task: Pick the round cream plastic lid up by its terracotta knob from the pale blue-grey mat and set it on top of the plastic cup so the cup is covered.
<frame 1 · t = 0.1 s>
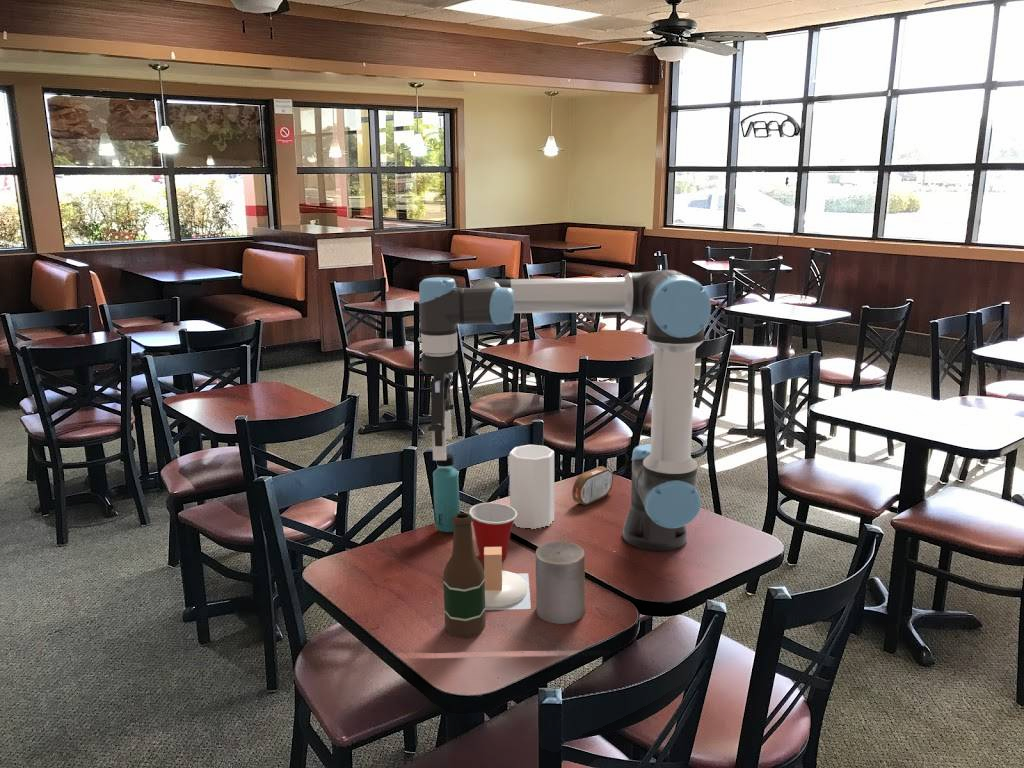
hand: (442, 449, 176), 28 cm above the table, tool pointing down, fingers open, 13 cm apart
mat: (493, 594, 171), on the table
tin: (593, 500, 220), on the table
beer bottle: (465, 632, 157), on the table
plastic cup: (494, 560, 186), on the table
beverage bottle: (447, 533, 201), on the table
pillar candle: (560, 615, 163), on the table
cup: (532, 521, 207), on the table
lid: (493, 591, 171), point 1 cm above the table, touching mat
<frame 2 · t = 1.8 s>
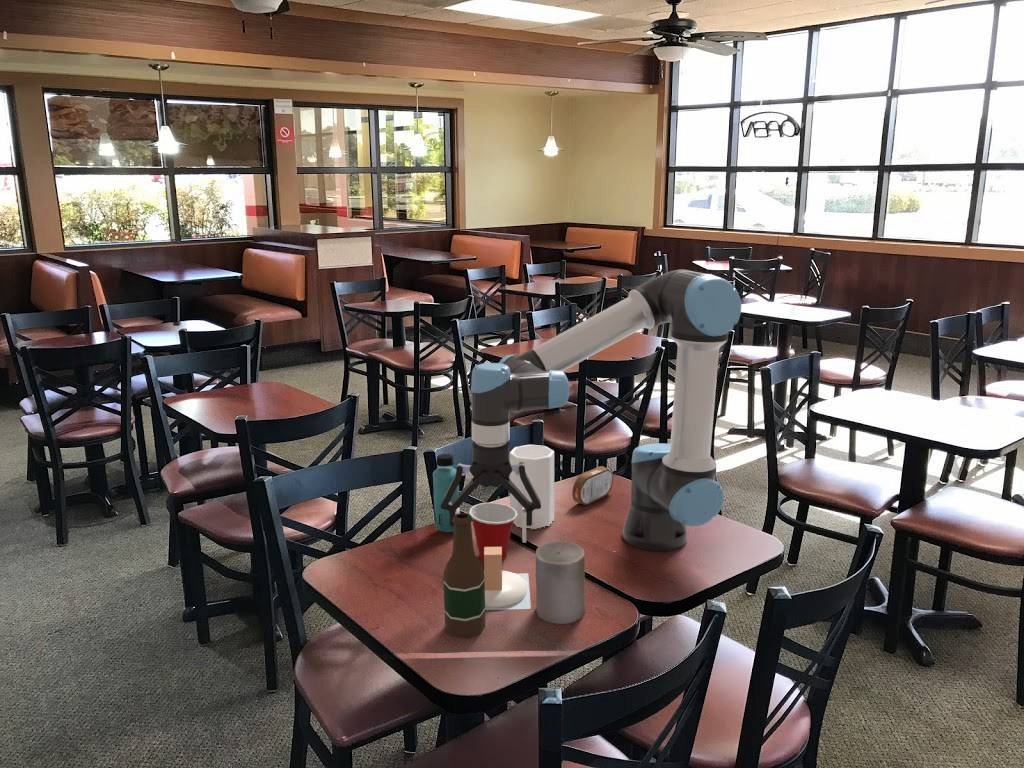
hand: (491, 540, 168), 12 cm above the table, tool pointing down, fingers open, 13 cm apart
nothing on the table moved.
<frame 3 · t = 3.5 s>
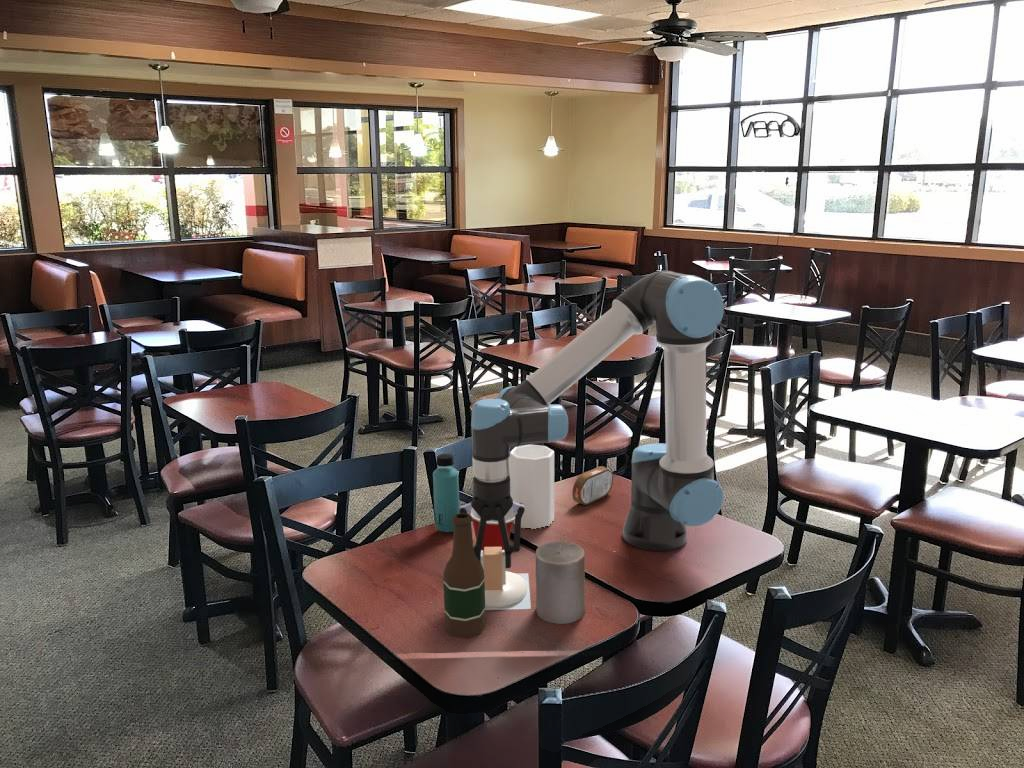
hand: (493, 581, 170), 3 cm above the table, tool pointing down, fingers closed on lid, 4 cm apart
lid: (493, 591, 171), point 1 cm above the table, touching gripper, mat
everything else where it was.
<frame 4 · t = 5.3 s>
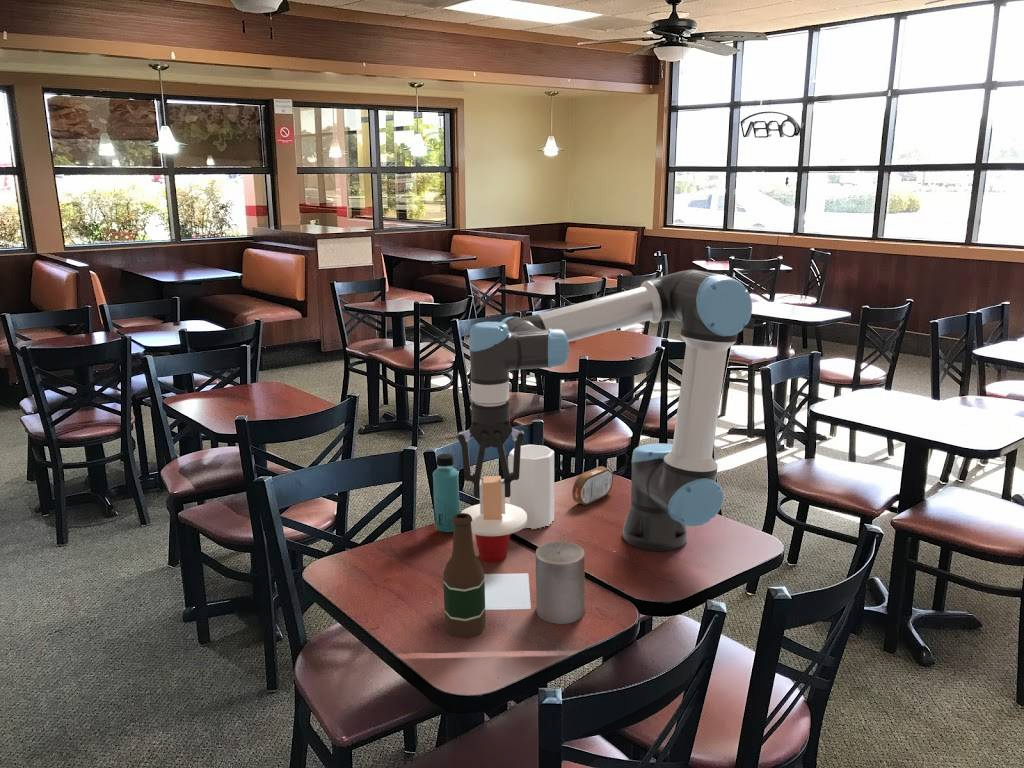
hand: (492, 511, 167), 18 cm above the table, tool pointing down, fingers closed on lid, 4 cm apart
lid: (492, 521, 167), point 16 cm above the table, touching gripper
everything else where it was.
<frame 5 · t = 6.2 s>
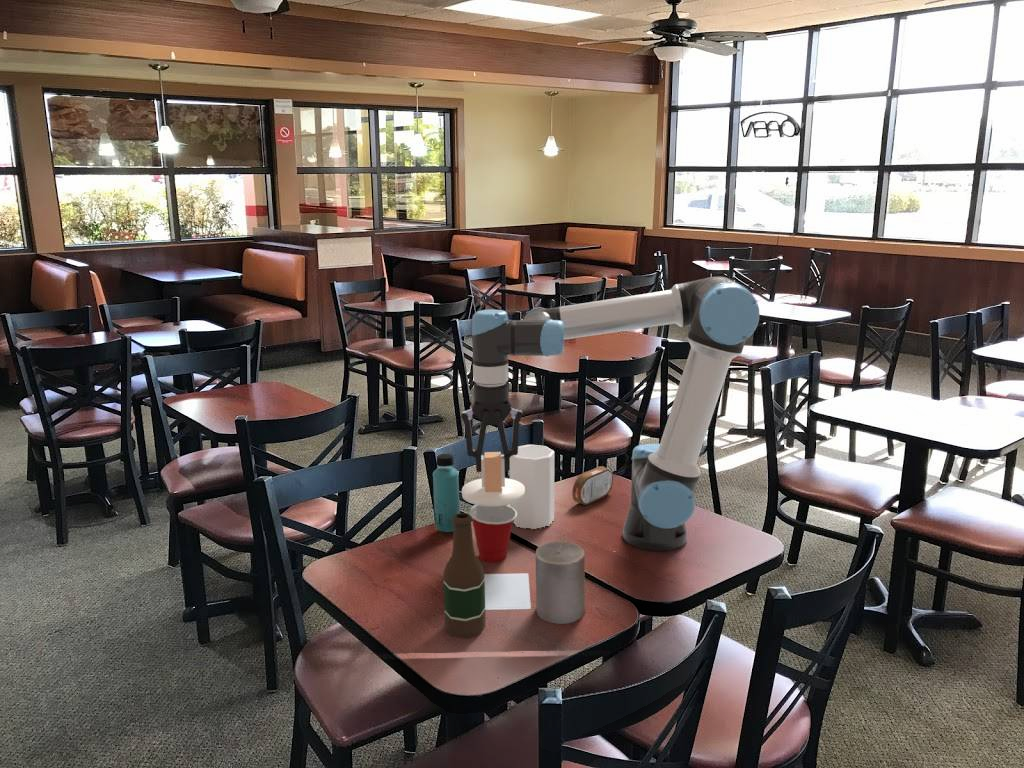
hand: (493, 484, 181), 18 cm above the table, tool pointing down, fingers closed on lid, 4 cm apart
lid: (493, 493, 182), point 16 cm above the table, touching gripper
everything else where it was.
when the fingers open (15 cm above the table, at t = 7.1 s): lid drops 1 cm, resting on plastic cup.
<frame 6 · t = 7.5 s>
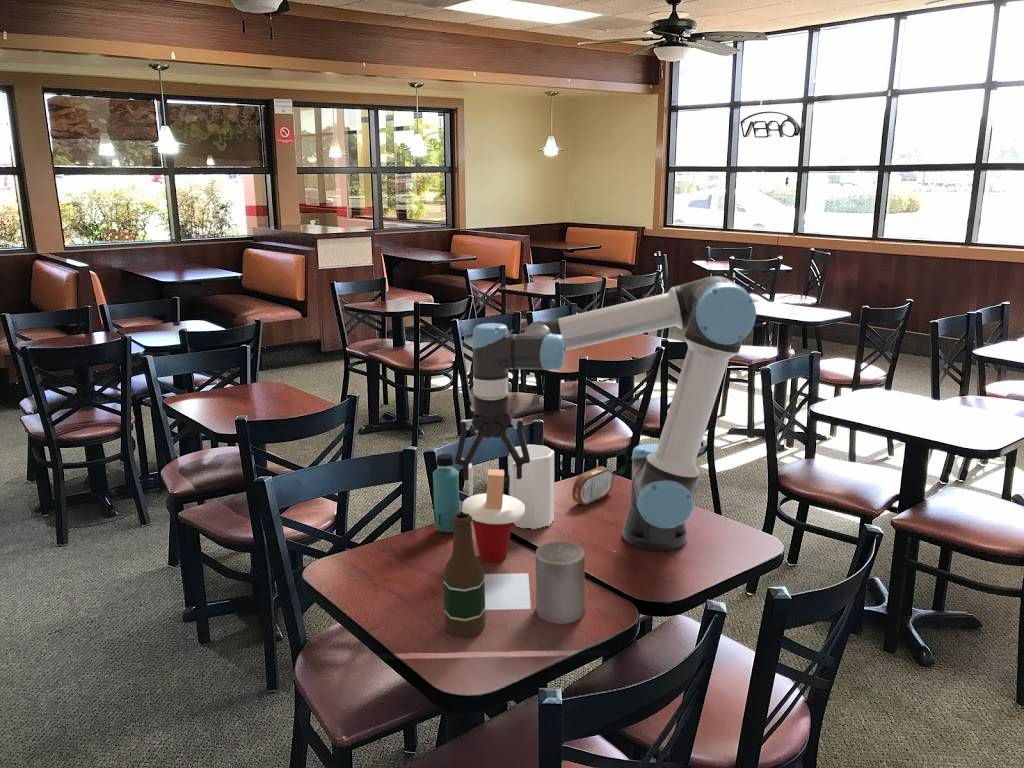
hand: (492, 492, 182), 16 cm above the table, tool pointing down, fingers open, 9 cm apart
plastic cup: (494, 560, 186), on the table, touching lid
lid: (493, 510, 183), point 12 cm above the table, touching plastic cup
everything else where it was.
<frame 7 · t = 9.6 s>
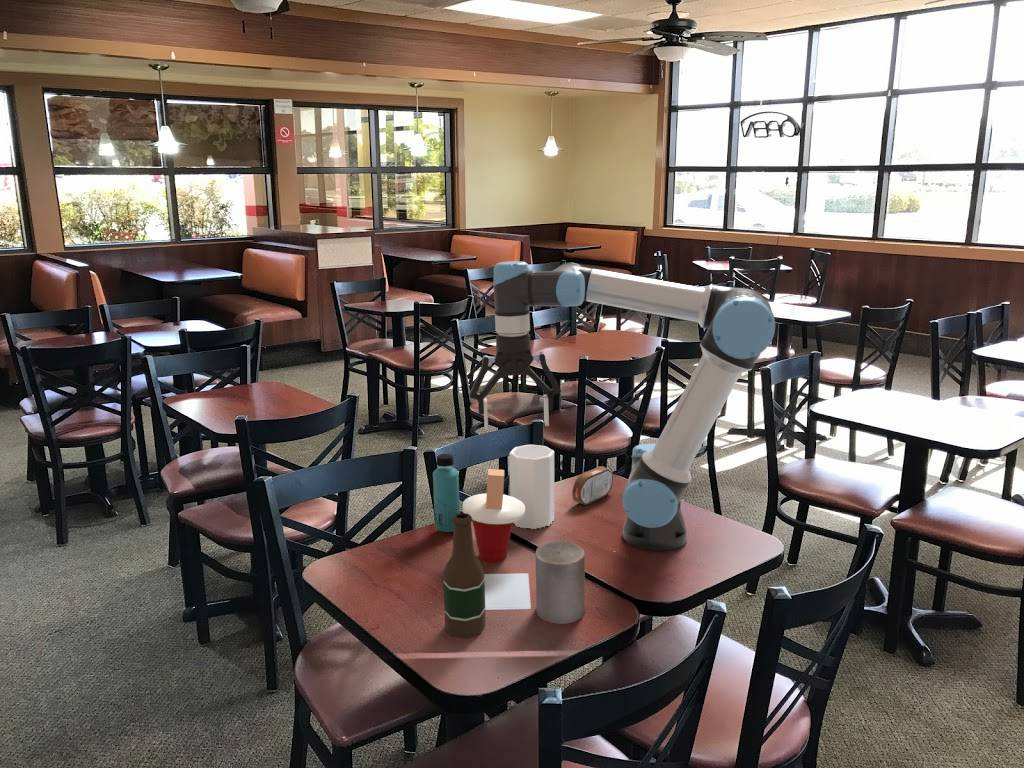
hand: (516, 426, 184), 30 cm above the table, tool pointing down, fingers open, 13 cm apart
nothing on the table moved.
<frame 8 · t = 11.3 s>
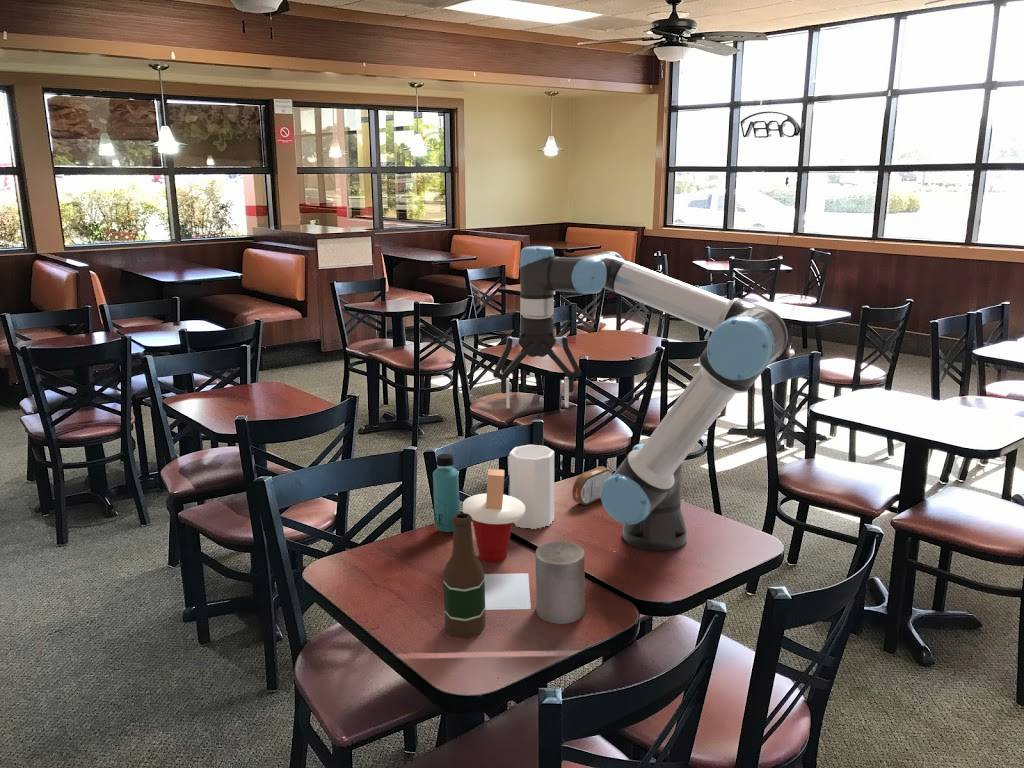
hand: (537, 406, 190), 33 cm above the table, tool pointing down, fingers open, 13 cm apart
nothing on the table moved.
at the end: lid 0.1 cm off-centre on the plastic cup, point 12.2 cm above the plastic cup's base; lid touching plastic cup; plastic cup tilted 0° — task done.
